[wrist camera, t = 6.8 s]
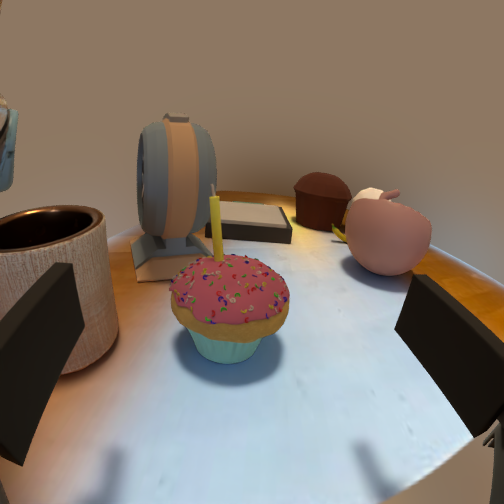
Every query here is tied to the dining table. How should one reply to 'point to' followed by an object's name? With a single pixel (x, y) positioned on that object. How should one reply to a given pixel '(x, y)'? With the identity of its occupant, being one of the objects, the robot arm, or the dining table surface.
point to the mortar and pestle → (386, 234)
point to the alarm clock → (172, 196)
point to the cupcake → (228, 300)
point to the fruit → (339, 234)
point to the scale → (252, 222)
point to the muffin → (321, 201)
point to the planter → (66, 251)
